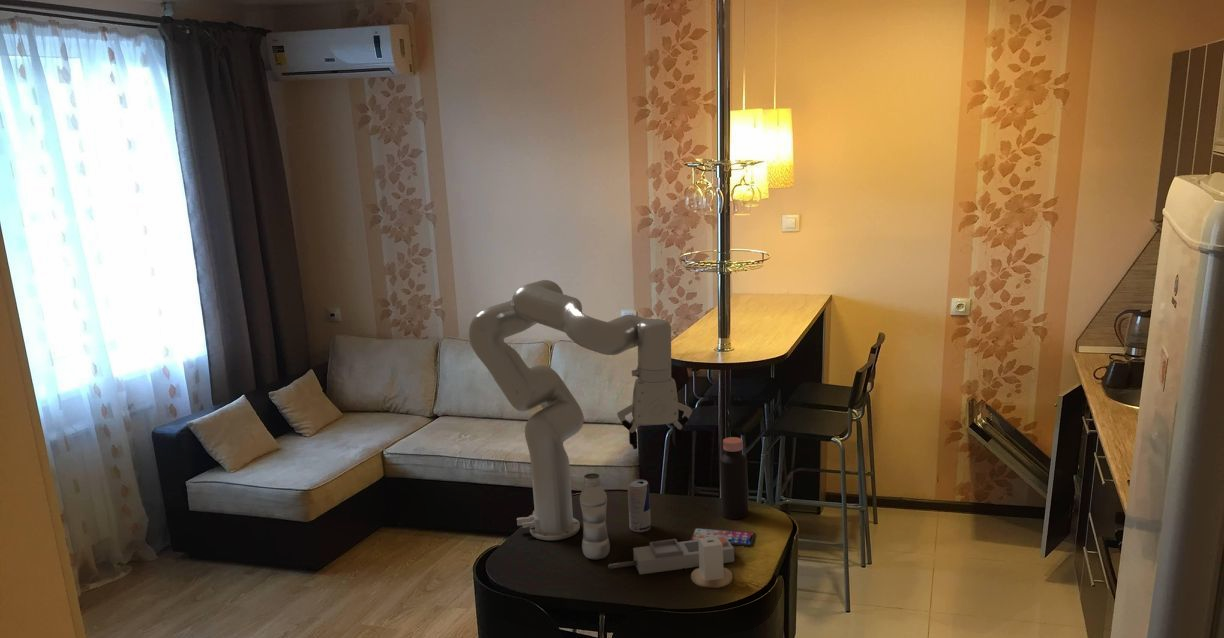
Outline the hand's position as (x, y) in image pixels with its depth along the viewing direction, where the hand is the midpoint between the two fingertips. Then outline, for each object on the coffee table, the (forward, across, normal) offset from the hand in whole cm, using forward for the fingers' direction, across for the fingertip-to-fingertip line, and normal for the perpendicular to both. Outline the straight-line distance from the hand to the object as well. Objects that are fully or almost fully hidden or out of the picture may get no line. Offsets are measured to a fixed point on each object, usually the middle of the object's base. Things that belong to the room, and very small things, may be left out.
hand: (654, 445), depth 193 cm
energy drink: (+26, -1, +12) cm, 29 cm away
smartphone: (+26, +17, +2) cm, 31 cm away
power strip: (+26, +2, -8) cm, 27 cm away
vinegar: (+26, +24, +14) cm, 37 cm away
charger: (+25, +9, -16) cm, 31 cm away
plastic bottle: (+27, -14, 0) cm, 30 cm away
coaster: (+25, +9, -16) cm, 31 cm away
